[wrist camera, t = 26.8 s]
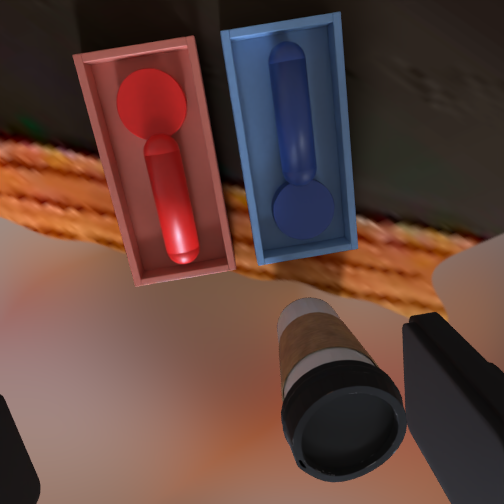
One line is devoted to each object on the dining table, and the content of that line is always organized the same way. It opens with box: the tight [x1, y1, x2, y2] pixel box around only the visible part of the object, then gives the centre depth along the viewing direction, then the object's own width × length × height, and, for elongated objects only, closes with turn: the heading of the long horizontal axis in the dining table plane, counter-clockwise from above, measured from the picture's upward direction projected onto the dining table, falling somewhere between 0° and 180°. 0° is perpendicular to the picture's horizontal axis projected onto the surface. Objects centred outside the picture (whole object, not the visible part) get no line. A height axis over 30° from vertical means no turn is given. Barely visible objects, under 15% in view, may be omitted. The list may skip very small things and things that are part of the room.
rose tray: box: [73, 35, 236, 286], centre depth 35 cm, size 9×18×2 cm, turn 9°
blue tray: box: [220, 12, 358, 266], centre depth 35 cm, size 9×18×2 cm, turn 9°
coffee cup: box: [277, 298, 407, 482], centre depth 35 cm, size 8×8×15 cm
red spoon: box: [116, 68, 200, 264], centre depth 34 cm, size 16×5×3 cm, turn 9°
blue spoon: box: [268, 41, 335, 240], centre depth 34 cm, size 16×5×3 cm, turn 9°
